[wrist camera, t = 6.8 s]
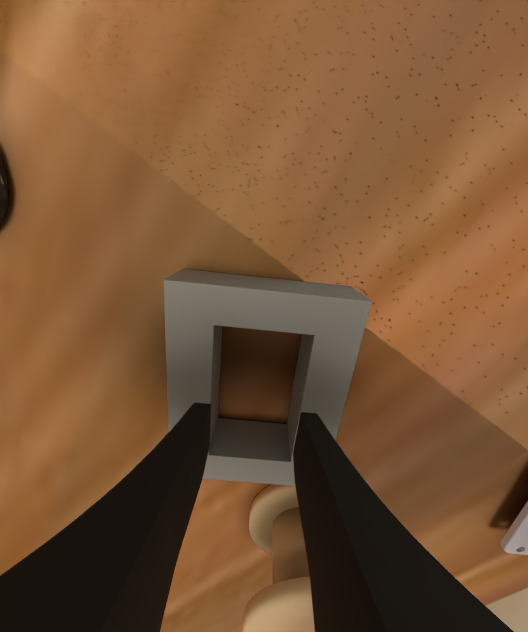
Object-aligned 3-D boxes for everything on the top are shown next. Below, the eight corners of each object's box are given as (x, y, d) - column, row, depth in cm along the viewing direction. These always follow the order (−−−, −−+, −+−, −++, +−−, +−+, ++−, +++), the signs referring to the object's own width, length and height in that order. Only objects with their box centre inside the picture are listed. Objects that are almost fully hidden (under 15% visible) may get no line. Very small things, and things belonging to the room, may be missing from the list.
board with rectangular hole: (350, 286, 12) (371, 301, 9) (314, 447, 15) (323, 488, 13) (184, 269, 12) (163, 279, 9) (184, 436, 15) (169, 476, 13)
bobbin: (362, 482, 16) (410, 606, 11) (340, 549, 18) (370, 679, 13) (254, 472, 16) (248, 595, 11) (245, 542, 18) (237, 671, 13)
